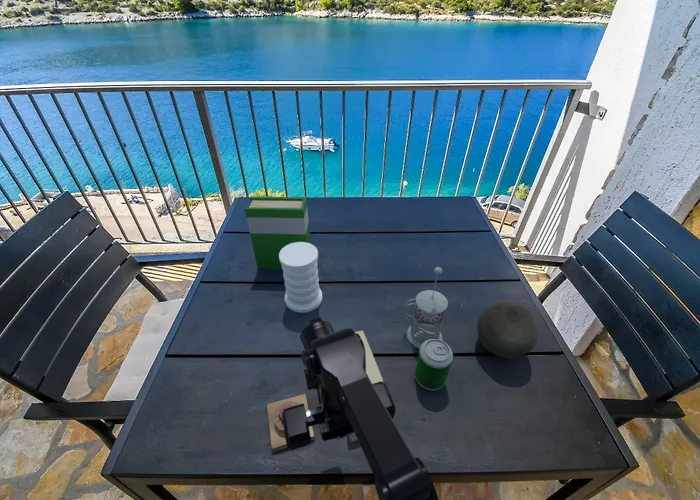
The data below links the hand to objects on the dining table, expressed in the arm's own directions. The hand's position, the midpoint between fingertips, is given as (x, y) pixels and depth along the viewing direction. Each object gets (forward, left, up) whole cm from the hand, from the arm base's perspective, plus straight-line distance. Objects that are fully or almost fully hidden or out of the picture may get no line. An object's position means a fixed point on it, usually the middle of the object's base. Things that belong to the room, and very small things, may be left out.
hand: (339, 435), depth 65 cm
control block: (+11, +9, -12) cm, 18 cm away
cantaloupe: (+15, -48, -12) cm, 52 cm away
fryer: (+17, -6, -12) cm, 22 cm away
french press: (+25, -30, -12) cm, 41 cm away
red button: (+11, +9, -9) cm, 16 cm away
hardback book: (+67, +2, -12) cm, 68 cm away
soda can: (+12, -26, -12) cm, 31 cm away
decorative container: (+48, -1, -12) cm, 49 cm away
